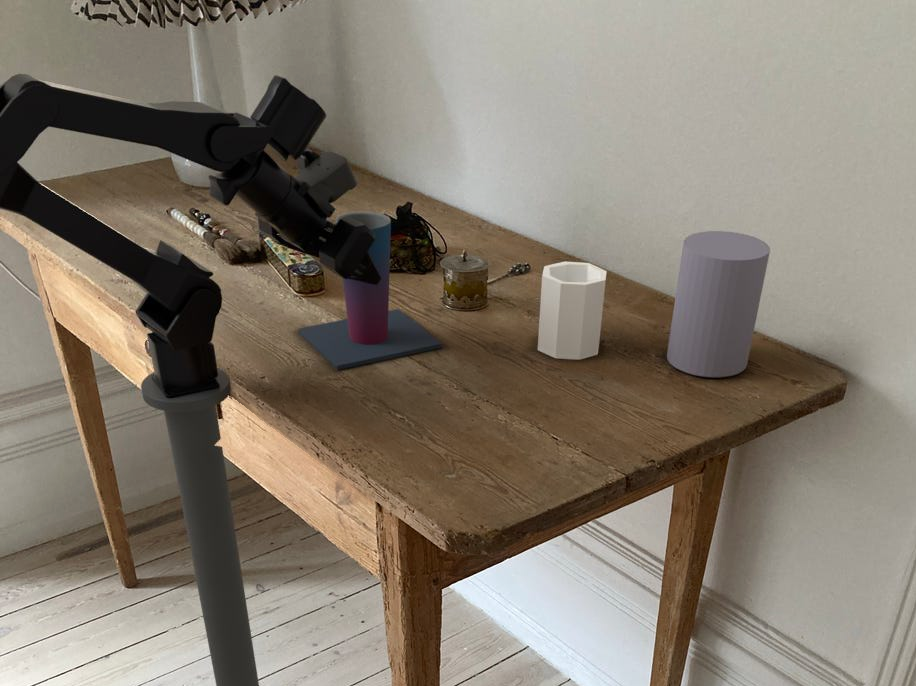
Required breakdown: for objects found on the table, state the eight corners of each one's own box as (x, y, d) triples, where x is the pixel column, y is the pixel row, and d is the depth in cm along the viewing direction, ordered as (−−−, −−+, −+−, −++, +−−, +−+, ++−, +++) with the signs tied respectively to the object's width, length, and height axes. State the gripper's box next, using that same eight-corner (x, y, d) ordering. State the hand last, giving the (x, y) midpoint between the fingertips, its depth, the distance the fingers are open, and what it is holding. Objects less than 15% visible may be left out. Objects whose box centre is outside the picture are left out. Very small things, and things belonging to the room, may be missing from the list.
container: (671, 341, 138) (688, 227, 129) (748, 351, 137) (771, 236, 127) (661, 373, 131) (679, 254, 121) (744, 384, 129) (768, 264, 119)
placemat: (337, 370, 129) (337, 365, 129) (298, 332, 138) (297, 328, 138) (442, 347, 135) (442, 343, 135) (398, 313, 144) (398, 308, 144)
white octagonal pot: (609, 357, 134) (617, 282, 128) (546, 362, 132) (551, 287, 126) (579, 321, 143) (585, 249, 137) (520, 326, 141) (523, 253, 135)
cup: (363, 351, 132) (357, 232, 123) (332, 334, 136) (324, 218, 127) (404, 338, 136) (402, 221, 126) (374, 322, 140) (369, 207, 130)
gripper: (357, 151, 111) (438, 236, 124) (270, 115, 122) (352, 197, 135) (300, 238, 112) (386, 314, 125) (218, 195, 123) (305, 269, 136)
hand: (357, 270), depth 130 cm, fingers open, 9 cm apart
